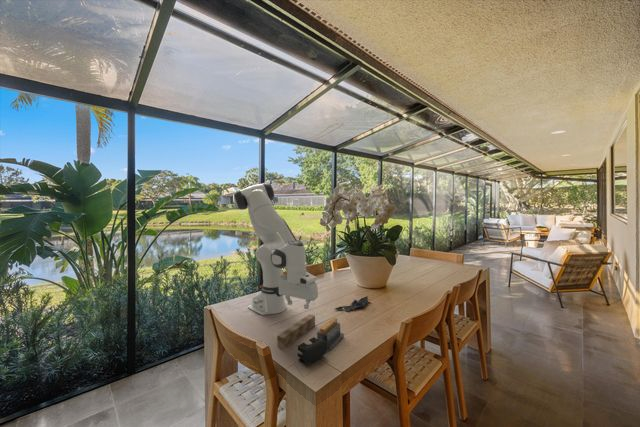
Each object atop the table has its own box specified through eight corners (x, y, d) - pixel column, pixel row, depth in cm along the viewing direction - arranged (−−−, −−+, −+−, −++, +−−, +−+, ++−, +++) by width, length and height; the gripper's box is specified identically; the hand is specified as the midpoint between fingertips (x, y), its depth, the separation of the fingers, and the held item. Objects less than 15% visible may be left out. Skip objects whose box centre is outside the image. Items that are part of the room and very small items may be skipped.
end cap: (309, 369, 95) (308, 351, 95) (296, 361, 100) (296, 344, 100) (327, 358, 102) (327, 341, 102) (315, 350, 107) (315, 334, 107)
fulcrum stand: (313, 345, 111) (313, 327, 111) (328, 332, 122) (328, 315, 122) (329, 350, 107) (329, 332, 106) (343, 336, 118) (343, 319, 117)
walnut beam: (283, 349, 109) (283, 337, 108) (277, 347, 110) (277, 335, 110) (314, 325, 129) (314, 315, 129) (309, 324, 131) (309, 314, 131)
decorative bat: (345, 309, 138) (332, 305, 146) (346, 317, 138) (333, 312, 146) (379, 295, 157) (366, 292, 165) (380, 302, 157) (367, 299, 165)
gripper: (275, 275, 121) (276, 304, 121) (311, 281, 110) (312, 313, 111) (283, 272, 126) (284, 300, 127) (319, 277, 115) (320, 308, 116)
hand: (298, 306), depth 119 cm, fingers open, 8 cm apart
